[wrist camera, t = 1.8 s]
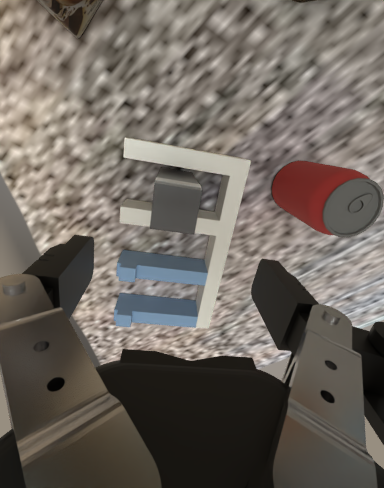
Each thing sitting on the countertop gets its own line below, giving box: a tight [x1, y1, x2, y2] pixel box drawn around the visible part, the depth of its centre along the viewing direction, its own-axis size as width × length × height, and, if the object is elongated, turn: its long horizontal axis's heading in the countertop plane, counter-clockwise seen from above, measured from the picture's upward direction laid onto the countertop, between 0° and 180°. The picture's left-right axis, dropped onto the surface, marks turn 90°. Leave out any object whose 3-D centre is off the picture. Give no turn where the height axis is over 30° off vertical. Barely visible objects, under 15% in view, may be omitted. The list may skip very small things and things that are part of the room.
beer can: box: [272, 161, 384, 237], centre depth 28 cm, size 7×7×12 cm
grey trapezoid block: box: [150, 167, 203, 234], centre depth 26 cm, size 4×4×12 cm
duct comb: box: [114, 138, 251, 329], centre depth 33 cm, size 14×24×5 cm, turn 170°
